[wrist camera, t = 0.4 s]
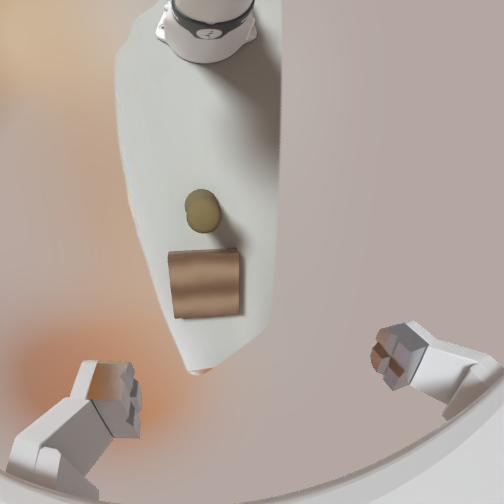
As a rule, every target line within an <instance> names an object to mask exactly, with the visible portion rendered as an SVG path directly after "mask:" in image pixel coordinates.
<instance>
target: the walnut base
mask: <svg viewBox="0 0 504 504" xmlns="http://www.w3.org/2000/svg"><path fill="white" fill-rule="evenodd" d="M168 266H169V276H170V286H171V294H172V302H173V310H174V317H175V319H177V318H194V317H208V316H221V315H233V314H239V252H238V250H237V248H229V249H210V250H192V251H174V252H169V253H168Z"/></svg>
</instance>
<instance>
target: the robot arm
mask: <svg viewBox="0 0 504 504" xmlns="http://www.w3.org/2000/svg"><path fill="white" fill-rule="evenodd" d="M167 1H168V4H167V5H165V8H164V13H163V15H162V17H161V20H160V22H159V25H158V27H157V30H156V37H157V38H158V39H159V40H161V41H163V42H166V43H167V44H168V45H169V46H170V47H171V49H172V50H173V51H174V52H175V53H176V54H177V55H178V56H180V57H181V58H183V59H185V60H188V61H191V62H195V63H213V62H218V61H221V60H224V59H226V58H228V57H230V56H231V55H233V54H234V53H235V52H236V51H237V50H238V49H239V48H240V47H241V46H242V45H243V44H245V43H247V42H249V41H252V40H253V39H255V38H256V35H257V31H256V27H255V17H253V12H252V9H253V5H254V1H255V0H167ZM163 27H164V29H162V28H163ZM376 341H377V344H376V345H375V346H374V347H373V348H372V352H371V355H370V356H371V363H372V366H373V368H374V369H375V370H376V372H378V373H381V374H383V380H384V381H385V382H386V384H387V385H388V386H389V387H390V388H391V390H392V391H394V390H397V389H399V388H402V387H404V386H407V385H409V384H410V386H412V387H414V388H416V389H418V390H420V391H422V392H424V393H426V394H428V395H429V396H431V397H434V398H435V399H437V400H439V401H441V402H443V403H445V404H447V407H446V408H445V410H444V411H443V415H442V416H443V417H444V418H445V419H446V420H447V422H446V423H444V424H443V425H441V426H440V427H438V428H437V429H435V430H434V431H432V432H431V433H429V434H427V435H426V436H424V437H423V438H421V439H419V440H418V441H416V442H414V443H413V444H411V445H409V446H407V447H405V448H404V449H402V450H400V451H398V452H396V453H394V454H392V455H390V456H388V457H386V458H384V459H383V460H380V461H378V462H376V463H374V464H372V465H369V466H367V467H365V468H363V469H360V470H358V471H355V472H353V473H351V474H348V475H345V476H343V477H340V478H337V479H335V480H332V481H329V482H326V483H323V484H320V485H317V486H314V487H310V488H307V489H303V490H300V491H296V492H292V493H288V494H284V495H280V496H275V497H271V498H266V499H260V500H255V501H249V502H242V503H235V504H504V368H503V367H502V366H501V365H500V364H499V363H498V362H496V361H495V360H494V359H493V358H492V357H490V356H489V355H488V354H485V353H482V352H478V351H475V350H472V349H468V348H465V347H462V346H458V345H455V344H452V343H448V342H445V341H438V340H437V339H436V338H435V337H433V336H432V335H431V334H430V333H428V332H427V331H426V330H425V329H424V328H423V327H421V326H420V325H419V324H418V323H416V322H415V321H413V320H409V321H406V322H403V323H400V324H397V325H393V326H390V327H386V328H382V329H380V330H379V332H378V333H377V337H376ZM141 410H142V395H141V390H140V386H139V383H138V381H137V380H135V379H134V368H133V366H132V363H130V362H120V361H93V360H85V361H83V362H82V364H81V367H80V369H79V372H78V375H77V378H76V380H75V383H74V386H73V389H72V392H71V395H70V398H67V397H65V398H64V399H63V400H61V401H60V402H59V403H58V404H56V405H55V406H54V407H53V408H51V409H50V410H49V411H48V412H46V413H45V414H44V415H43V416H41V417H40V418H39V419H38V420H36V421H35V422H34V423H33V424H31V425H30V426H29V427H27V428H26V429H25V430H24V431H22V432H21V433H20V434H19V435H17V436H16V438H15V441H14V444H13V447H12V450H11V454H10V458H9V461H8V464H7V468H6V472H4V471H2V470H0V504H117V503H110V502H103V501H99V490H98V489H97V488H96V487H95V486H94V485H93V484H92V483H91V482H90V481H88V480H87V479H86V478H85V475H86V474H87V473H88V472H89V470H90V469H91V468H92V466H93V465H94V464H95V463H96V461H97V460H98V459H99V457H100V456H101V455H102V453H103V452H104V451H105V450H106V448H107V447H108V446H109V444H110V443H111V442H112V440H113V438H140V426H141V421H140V418H139V416H138V413H139V412H140V411H141Z"/></svg>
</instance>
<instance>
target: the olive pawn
mask: <svg viewBox="0 0 504 504" xmlns="http://www.w3.org/2000/svg"><path fill="white" fill-rule="evenodd" d="M185 210H186V213H187V222H188V224H189V226H190V227H191V228H192V229H193V230H194V231H196V232H198V233H209V232H211V231H213V230H215V229H216V228H217V227H218V225H219V223H220V221H221V211H220V208H219V206H218V203H217V199H216V197H215V196H214V194H213V193H212V192H210V191H208V190H205V189H198V190H195V191H193V192H192V193H190V194H189V195H188V197H187V199H186V201H185Z"/></svg>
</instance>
